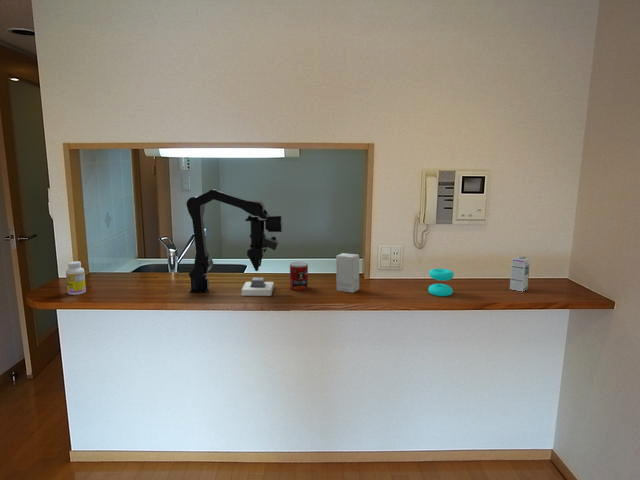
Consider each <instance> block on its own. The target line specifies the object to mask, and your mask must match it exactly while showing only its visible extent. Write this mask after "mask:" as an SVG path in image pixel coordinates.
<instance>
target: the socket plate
mask: <svg viewBox="0 0 640 480" xmlns="http://www.w3.org/2000/svg"><path fill="white" fill-rule="evenodd" d="M274 285H275V282H274V281H265V288H253V287H252V285H251V281H246V282H245V283H244V284H243V285H242V288H241V296H243V297H244V296H245V297H246V296H249V297H251V296H252V297H253V296H255V297H256V296H258V297H262V296H263V297H267V296H268V297H269V296H272V295H273V294H272V293H273V291H274V287H275V286H274Z"/></svg>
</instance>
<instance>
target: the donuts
mask: <svg viewBox="0 0 640 480" xmlns="http://www.w3.org/2000/svg"><path fill="white" fill-rule="evenodd" d="M428 274H429V277H430V278H431V279H433V280H436V281H450V280H452V279H453V278H454V276H455V273H454V272H453V271H452V270H451V269H447V268H432V269H431V270H429V272H428ZM427 290H428V292H429V293H430V294H431V295H433V296H438V297H448V296H452V294H453V292H454V290H453V288H452V287H451V286H450V285H449V284H445V283H433V284H431V285H429V287H428V289H427Z"/></svg>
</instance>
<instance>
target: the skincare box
mask: <svg viewBox="0 0 640 480" xmlns="http://www.w3.org/2000/svg"><path fill="white" fill-rule="evenodd" d="M335 259H336V260H335V263H336V264H335V265H336V268H335V270H336V275H335V276H336V291H339V292H347V293H356V292H357V291H359V290H360V254H357V253H347V252H342V253H340V254H337V255H336V256H335Z"/></svg>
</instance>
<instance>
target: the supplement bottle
mask: <svg viewBox="0 0 640 480" xmlns="http://www.w3.org/2000/svg"><path fill="white" fill-rule="evenodd" d="M67 266H68V268H67V269H66V271H65V279H66V287H67V288H66V290H67V294H68V295H71V296H77V295H81V294H82V295H83V294H85V293H86V291H87V287H86V276H85V269H84V268H83V267H81V266H82V262H81V261H78V260H76V261H74V260H73V261H69V262H67Z"/></svg>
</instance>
